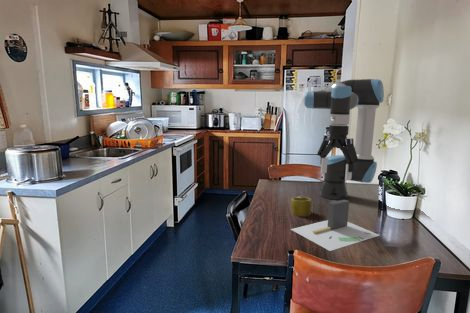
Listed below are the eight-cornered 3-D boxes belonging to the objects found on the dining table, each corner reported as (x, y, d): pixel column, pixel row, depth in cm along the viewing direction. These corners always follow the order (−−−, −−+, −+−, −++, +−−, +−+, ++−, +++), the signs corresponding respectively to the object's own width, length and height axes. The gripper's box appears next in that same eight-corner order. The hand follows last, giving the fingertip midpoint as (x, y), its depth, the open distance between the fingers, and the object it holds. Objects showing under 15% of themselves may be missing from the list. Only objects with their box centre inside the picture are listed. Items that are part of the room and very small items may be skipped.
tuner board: (337, 219, 150) (337, 217, 149) (379, 237, 131) (380, 234, 131) (290, 231, 136) (290, 228, 135) (329, 253, 117) (329, 250, 117)
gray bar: (342, 223, 141) (344, 199, 139) (347, 225, 139) (349, 201, 137) (311, 231, 132) (313, 206, 130) (316, 234, 130) (317, 207, 128)
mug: (315, 216, 148) (309, 195, 148) (293, 221, 150) (287, 200, 151) (315, 212, 159) (310, 192, 160) (295, 217, 162) (289, 197, 163)
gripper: (310, 122, 140) (308, 170, 144) (357, 127, 118) (352, 184, 122) (323, 122, 144) (320, 169, 147) (371, 127, 122) (366, 182, 126)
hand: (335, 176), depth 135 cm, fingers open, 13 cm apart
